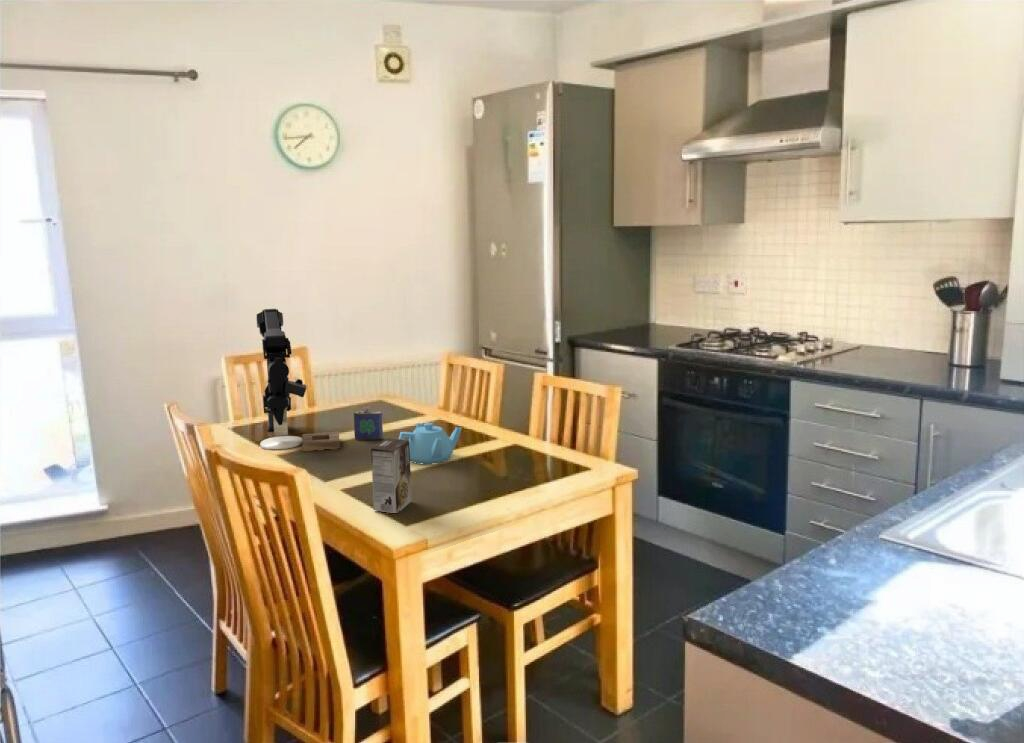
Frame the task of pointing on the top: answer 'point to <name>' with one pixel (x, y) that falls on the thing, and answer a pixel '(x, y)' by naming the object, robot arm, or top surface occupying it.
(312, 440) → the holder
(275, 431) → the block
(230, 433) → the top surface
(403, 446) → the coffee box
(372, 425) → the flask
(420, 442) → the teapot
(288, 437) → the plate
